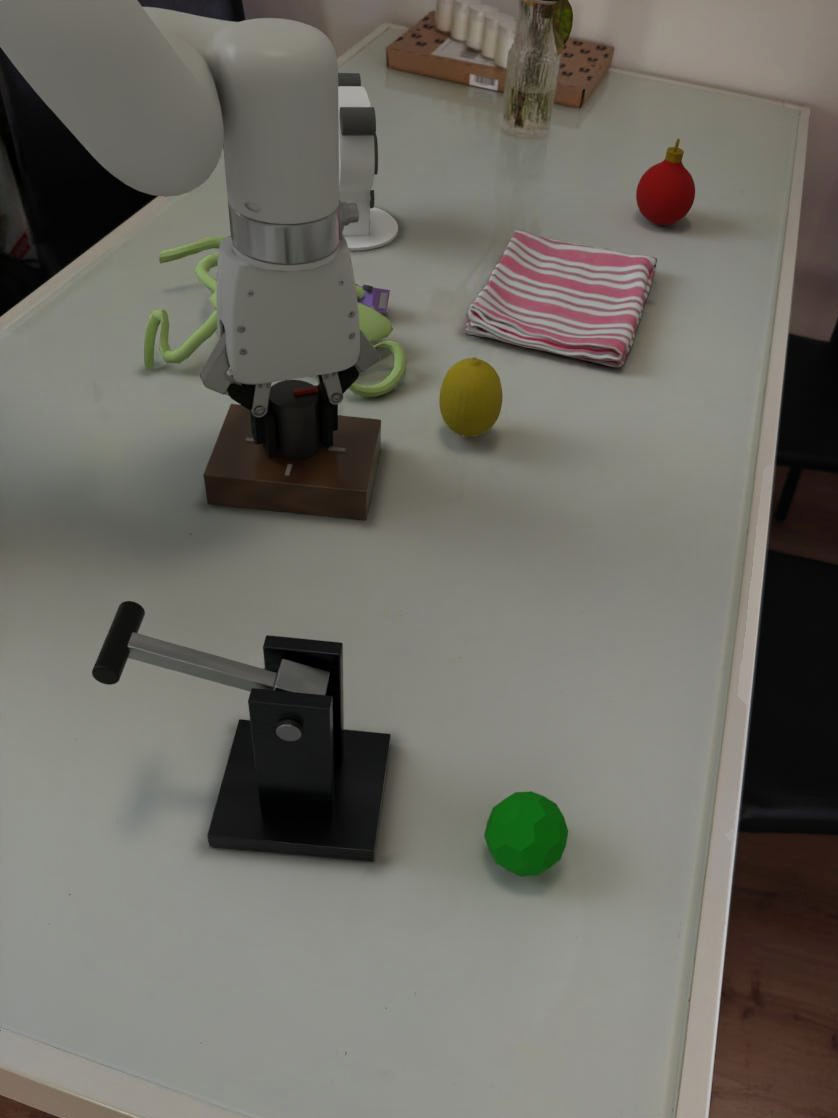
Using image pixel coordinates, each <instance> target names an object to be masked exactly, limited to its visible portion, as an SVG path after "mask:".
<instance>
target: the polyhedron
mask: <svg viewBox="0 0 838 1118" xmlns="http://www.w3.org/2000/svg"><path fill="white" fill-rule="evenodd" d="M568 836H569V828H568V825H567V822H566V818H565V816H564V814H563V813H562V810H561V809H560V808H559V806H558V804H557V803H555V802H554V801H553V800H551V799H549V798H548V797H546V796H545V795H542V794H539V793H537V792H534V791H516V792H512V793H511V794H510V795H509V796H507V797H505V798H504V799H502V800H501V801H500V802H498V803H497V804H496V805H495V806H493V807H492V809H491V811H490V814H489V816H488V819H487V821H486V826H485V830H484V835H483V837H484V840H485V843H486V845H487V848H488V851H489V853H490V855H491V857H492V859H493V860H494V862H495V864H496V865H498V866H500V867H501V868H503V869H505V870H506V871H508V872H510V873H513V874H515V875H516V876H519V877H535V876H539V875H541V874H542V873H544V872H547V871H548V870H549V869H551V868H552V867H553V866H555V865H556V864H557V863H558V862H560V861H561V859H562V857H563V854H564V852H565V850H566V848H567V844H568Z"/></svg>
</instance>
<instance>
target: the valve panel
mask: <svg viewBox="0 0 838 1118" xmlns="http://www.w3.org/2000/svg"><path fill="white" fill-rule="evenodd" d="M381 442H382V419H379V418H368V417H359V416H351V415H342V414H341V415H340V414H338V430H336V431H333V446H332V447H326V446H324V445H323V444H322V442H321V440H320V449H319V451H318V452H317V453H316V454H315V455H313V456H311V457H309V458H306V459H301V460H291V459H286V458H283V457H280V456H279V455H275V457H271V458H268V456H267V454H266V452H265V450H264V448H263V446H262V444H257V445H256V444H255V442H254V439H253V436H252V431H251V419H250V410H248V409H247V408H245V407H244V406H242V405H241V404H239V403H230V405H229V408H228V409H227V412H226V414H225V418H224V420H223V423H222V425H221V428H220V431H219V433H218V436H217V438H216V441H215V444H214V446H213V449H212V451H211V454H210V456H209V459H208V462H207V465H206V466H205V469H204V472H203V475H202V477H203V482H204V483H203V484H204V490H205V498H206V499H205V500H206V504H208V505H217V506H225V507H235V508H245V509H246V508H247V509H254V510H255V509H256V510H257V509H258V510H266V511H273V512H274V511H275V512H284V513H285V512H286V513H295V514H304V515H314V516H321V517H322V516H323V517H331V518H332V517H333V518H340V519H341V518H343V519H352V520H361V521H362V520H363V521H366V520H367V519H368V512H369V508H370V504H371V503H370V502H371V499H372V493H373V488H374V484H375V483H374V482H375V478H376V473H377V469H378V468H377V467H378V463H379V458H380V453H381V448H382V447H381V445H382V444H381Z"/></svg>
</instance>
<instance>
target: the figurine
mask: <svg viewBox="0 0 838 1118" xmlns="http://www.w3.org/2000/svg"><path fill="white" fill-rule="evenodd" d="M225 237H226V236H216V235H215V236H214V235H213V236H212V235H211V236H207V237H204V238H201V239H199V240H196V241H194V242H190V243H186V244H183V245H181V246H178V247H174V248H170V249H169V248H168V249H164V250H160V251H159V255H158V256H159V257H158V261H159V264H164V263H169V262H173V261H176V260H180V259H183V258H186V257H189V256H193V255H196V254H198V253H199V254H200V253H201V252H204V251H208V250H212V249H217V250H219V247H220V242H221V241H222V239H223V238H225ZM218 254H219V252H215V253H212V254H209V255H206V256H204V257H203V258H202V259H200V261H199V262H198V263H197V265H196V267H195V271H194V274H195V276H196V278H197V280H198V281H199V282H200V284H201V285H203V286H204V287H205V288H207V289H208V290H209V291H210V292H212V294H211V296H209V300H210V303H211V305H212V307H213V309H214V311H213V312H212V313H211V315H210V316H209V317H208V318H207V320H206V321H205V322H204V323H203V324H202V325H201V326H200V327H199V328H197V330H195V331H194V332H193V333H192V334H191V335H190V336H189V337H188V338H187V339H186V340H185V341H184V342H183V343H182V344H181V346H179V347H178V348H177V349H175V350H173V349H171V347H170V344H169V334H170V333H169V332H170V319H169V314H168V312H167V311H166V310H165V309H161V308H154V309H153V310H152V312H151V313H150V315H149V317H148V320H147V324H146V327H145V332H144V340H143V341H144V342H143V362H144V368H146V369H147V370H151V369H152V368H153V367H154V365H155V343H156V338H157V337H156V336H157V333H158V328H159V326H160V332H159V345H158V348H159V349H158V350H159V352H160V354H161V356H162V359H163V360H164V362H165V363H167V364H178V365H179V364H181V363H183V362H185V360H187V359H188V358H189V357H191V355H192V354H193V353H194V352H195V351H197V350H198V348H199V347H201V346H202V345H203V344H204V343H205V342H206V341H207V340H208V339H210V337H212V336H213V335H214V333H215V332H216V331H218V329H217V292H216V286H217V278H215V277H214V276H213V275H211V274H210V273H209V272H210V270H211V269H212V268H215V267H217V264H218ZM355 286H356V294H357V302H358V312H359V326H360V329H361V330H362V332H363V333H364V334H365V336H366V337H367V338H368V339H369V341H370V342H371V343H374V342H377V341H380V340H383V339H386V338H388V337H389V336H390V335H391V333H392V332H393V331H394V327H393V324H392V323H391V321H390V319H389V318H388V317H386V316H385V315H383V314H382V313H387V311H388V307H389V306H388V305H389V300H390V293H391V290H390V289H385V288H379V287H375V286H372V285H368V284H363V285H359V284H358V283H355ZM160 324H161V325H160ZM373 346H374V347H375V349H377V348H379V347H380V348H385V349H388V351H390V352H391V354H392V355H393V361H394V363H393V369H391V371H390V373H389V375H387V377H385V378H384V379H383V380H382V381H380V382H379V383H377V384H371V385H364V384H363V385H362V384H359V383H356V382H354V383H353V384H352V385H351V386H350V387H349V388H348V390H350V391H351V392H352V393H353V394H354V395H357V396H360V397H364V398H377V397H380V396H384V395H386V394H388V393H389V392H390V391H392V390H393V389H395V388H396V387H397V386H398V385H399V383H400V382H401V381H402V379H403V377H404V375H405V374H406V369H407V356H406V355H407V354H406V351H405V350H404V349H403V347H402V346H401V344H400V343H398V342H395V341H392V340H390V339H389V340H385V341H381V342H378V343H377V344H375V345H373Z"/></svg>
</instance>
